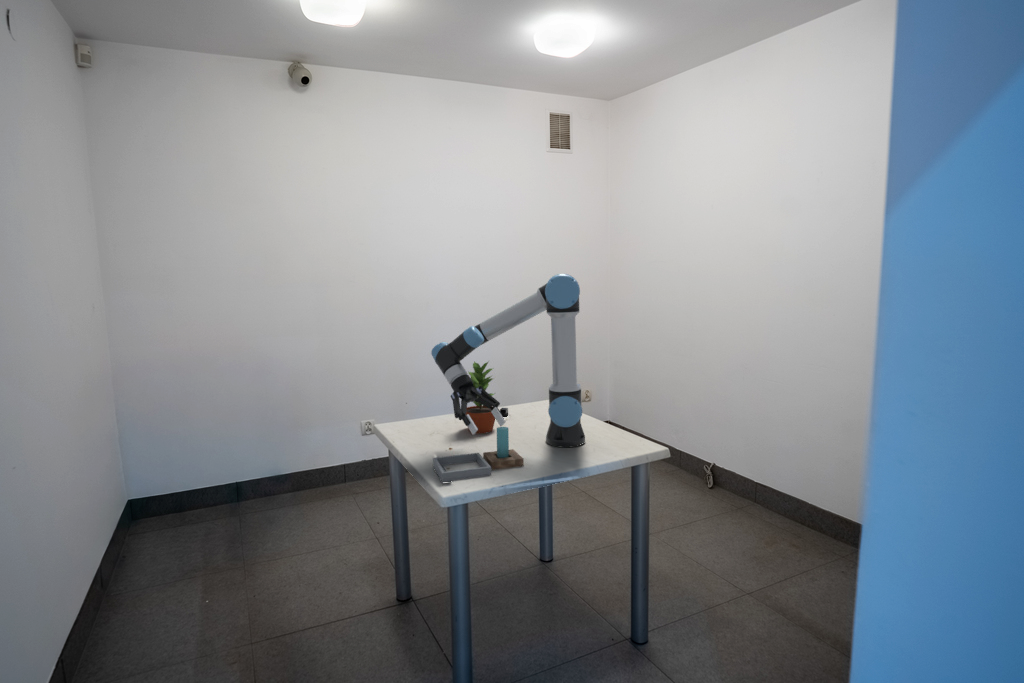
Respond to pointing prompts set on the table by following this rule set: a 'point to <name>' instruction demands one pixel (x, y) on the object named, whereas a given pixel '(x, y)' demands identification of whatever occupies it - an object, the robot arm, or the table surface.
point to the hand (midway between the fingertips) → (489, 428)
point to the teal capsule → (502, 442)
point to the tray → (460, 474)
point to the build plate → (504, 412)
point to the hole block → (503, 460)
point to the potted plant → (480, 413)
